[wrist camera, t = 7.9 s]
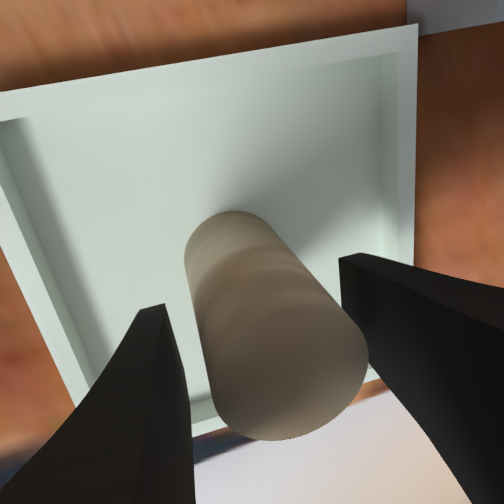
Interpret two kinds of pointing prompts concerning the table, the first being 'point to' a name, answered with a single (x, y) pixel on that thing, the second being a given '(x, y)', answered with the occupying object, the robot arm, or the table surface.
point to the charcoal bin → (453, 14)
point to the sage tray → (201, 183)
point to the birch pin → (269, 331)
